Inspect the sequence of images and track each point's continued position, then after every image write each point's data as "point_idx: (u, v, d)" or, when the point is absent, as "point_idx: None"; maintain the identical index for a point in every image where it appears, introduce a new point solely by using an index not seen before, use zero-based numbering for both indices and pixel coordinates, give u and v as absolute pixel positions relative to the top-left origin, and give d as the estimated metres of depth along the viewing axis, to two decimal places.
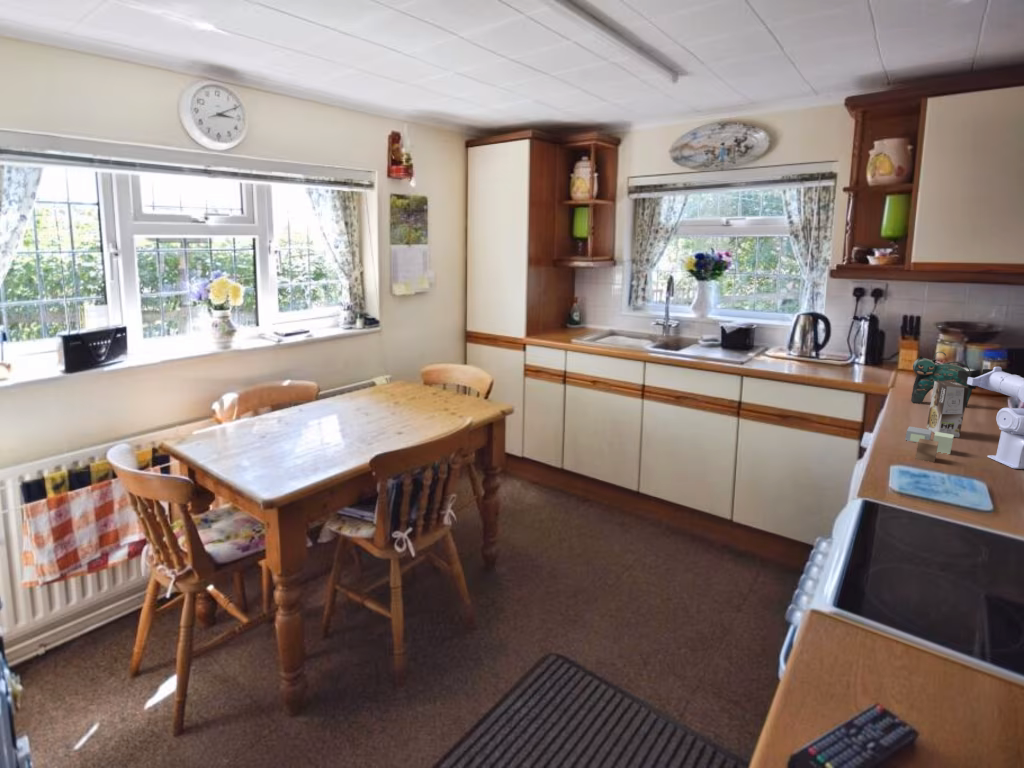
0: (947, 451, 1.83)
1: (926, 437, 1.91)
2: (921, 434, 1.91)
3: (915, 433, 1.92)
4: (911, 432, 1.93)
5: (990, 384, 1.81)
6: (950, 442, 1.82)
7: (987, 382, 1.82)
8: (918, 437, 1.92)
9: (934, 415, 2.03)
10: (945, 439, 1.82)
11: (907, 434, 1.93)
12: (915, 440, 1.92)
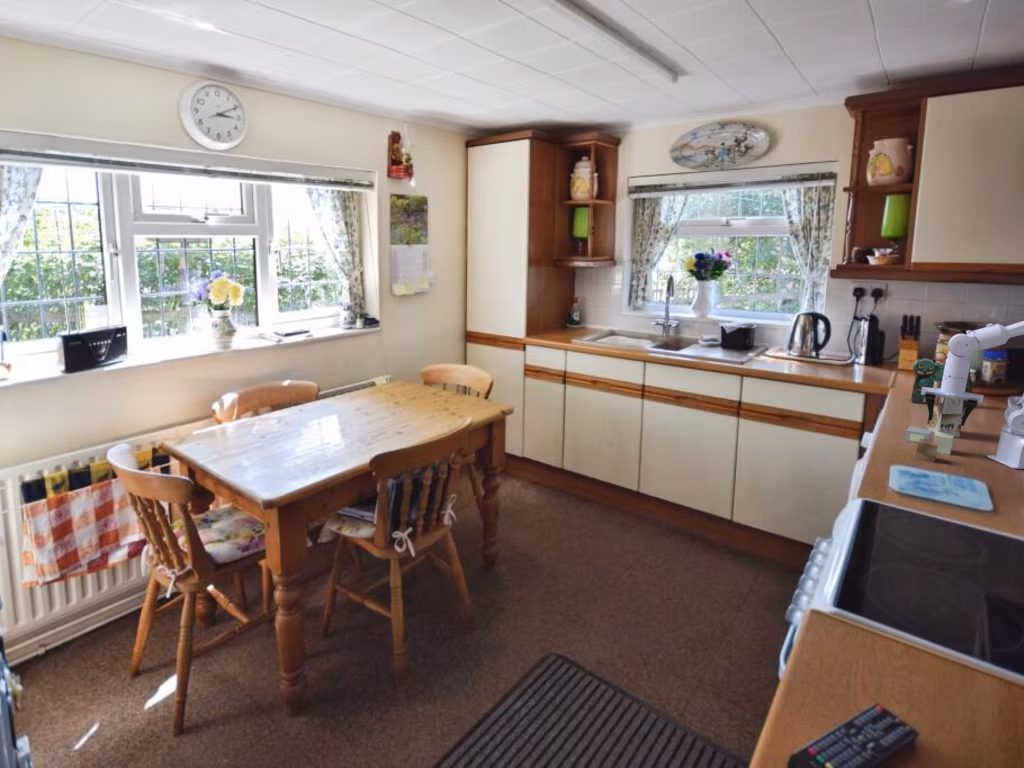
0: (947, 451, 1.83)
1: (925, 437, 1.91)
2: (920, 434, 1.91)
3: (915, 433, 1.92)
4: (911, 431, 1.93)
5: None
6: (950, 442, 1.82)
7: (964, 392, 1.80)
8: (917, 437, 1.92)
9: (933, 415, 2.03)
10: (945, 439, 1.82)
11: (907, 434, 1.94)
12: (915, 440, 1.93)
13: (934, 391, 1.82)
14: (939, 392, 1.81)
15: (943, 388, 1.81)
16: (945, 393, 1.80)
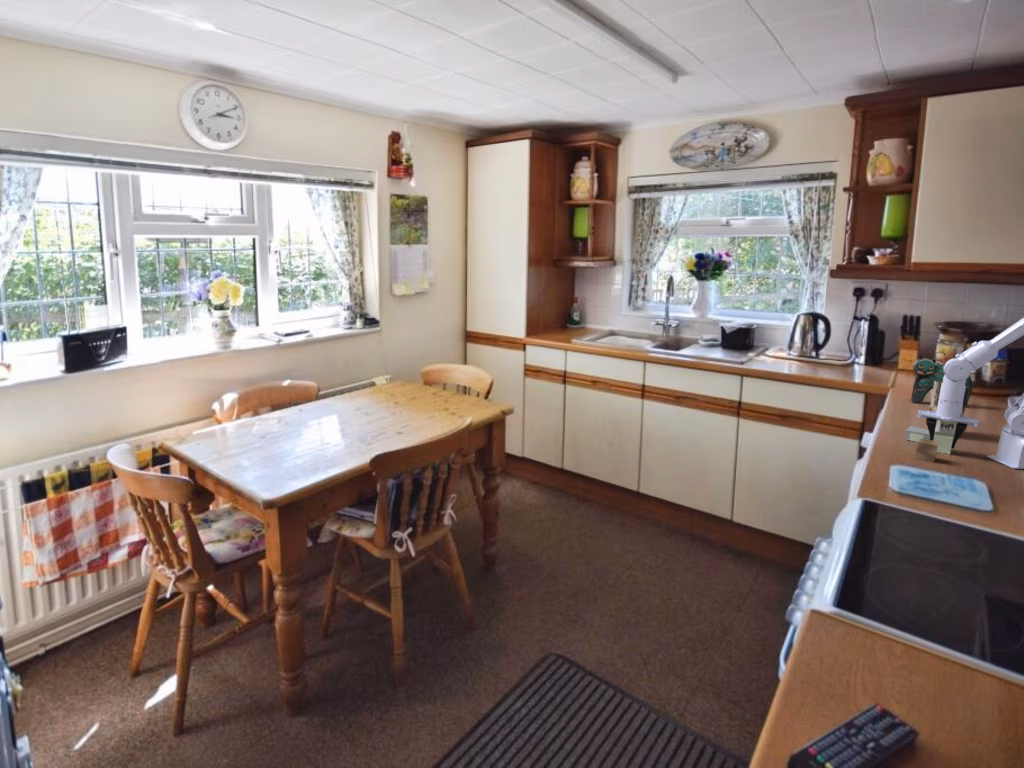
0: (947, 451, 1.83)
1: (925, 437, 1.91)
2: (920, 434, 1.92)
3: (914, 432, 1.93)
4: (910, 431, 1.93)
5: None
6: (950, 442, 1.82)
7: (960, 416, 1.81)
8: (917, 437, 1.92)
9: None
10: (946, 439, 1.82)
11: (906, 433, 1.94)
12: (914, 439, 1.93)
13: (930, 415, 1.84)
14: (935, 416, 1.83)
15: (938, 412, 1.83)
16: (941, 417, 1.82)
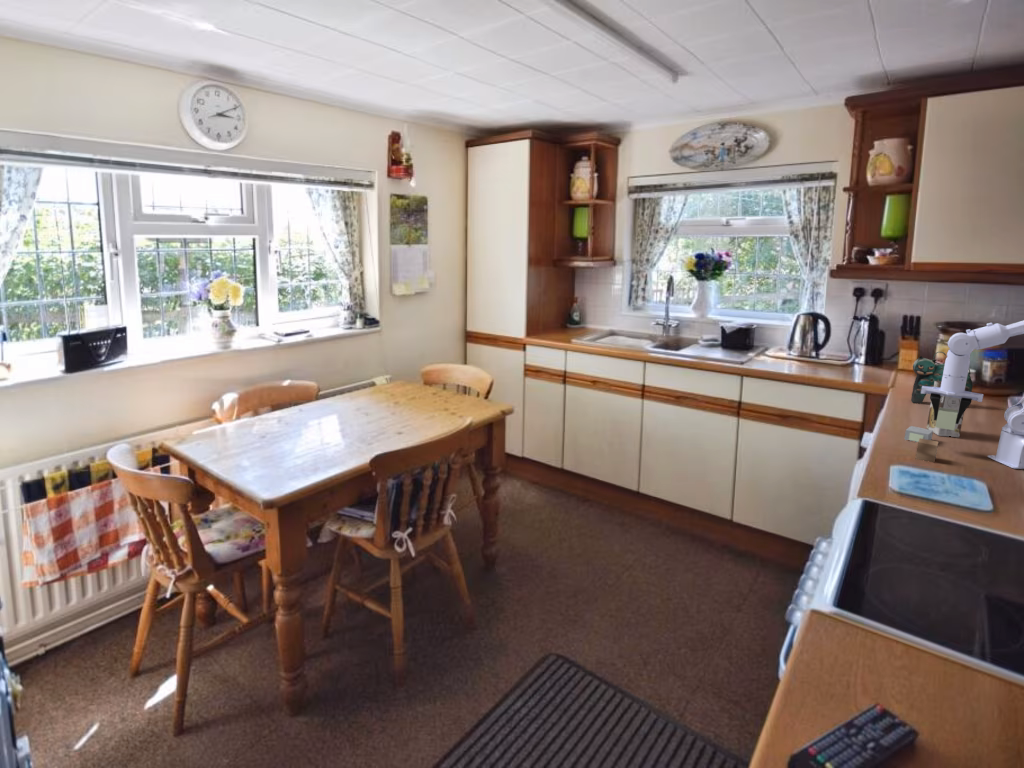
0: (951, 426, 1.81)
1: (925, 437, 1.91)
2: (920, 433, 1.92)
3: (914, 432, 1.93)
4: (910, 431, 1.93)
5: None
6: (954, 417, 1.80)
7: (964, 391, 1.80)
8: (917, 436, 1.92)
9: None
10: (950, 414, 1.81)
11: (906, 433, 1.94)
12: (914, 439, 1.93)
13: (934, 390, 1.83)
14: (939, 391, 1.81)
15: (942, 387, 1.81)
16: (945, 392, 1.80)
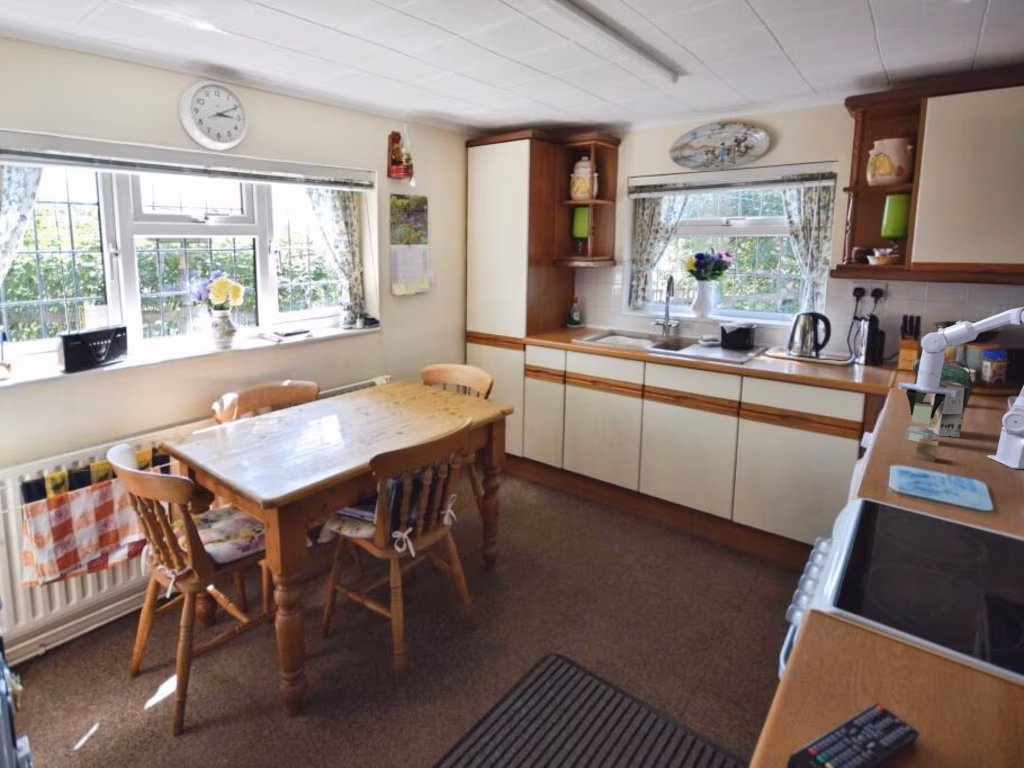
0: (926, 421, 1.90)
1: (924, 437, 1.91)
2: (919, 433, 1.92)
3: (914, 432, 1.93)
4: (910, 431, 1.94)
5: None
6: (929, 412, 1.90)
7: (938, 387, 1.89)
8: (916, 436, 1.92)
9: (934, 415, 2.03)
10: (925, 409, 1.90)
11: (906, 433, 1.94)
12: (913, 439, 1.93)
13: (910, 386, 1.92)
14: (915, 387, 1.91)
15: (918, 384, 1.90)
16: (920, 388, 1.90)
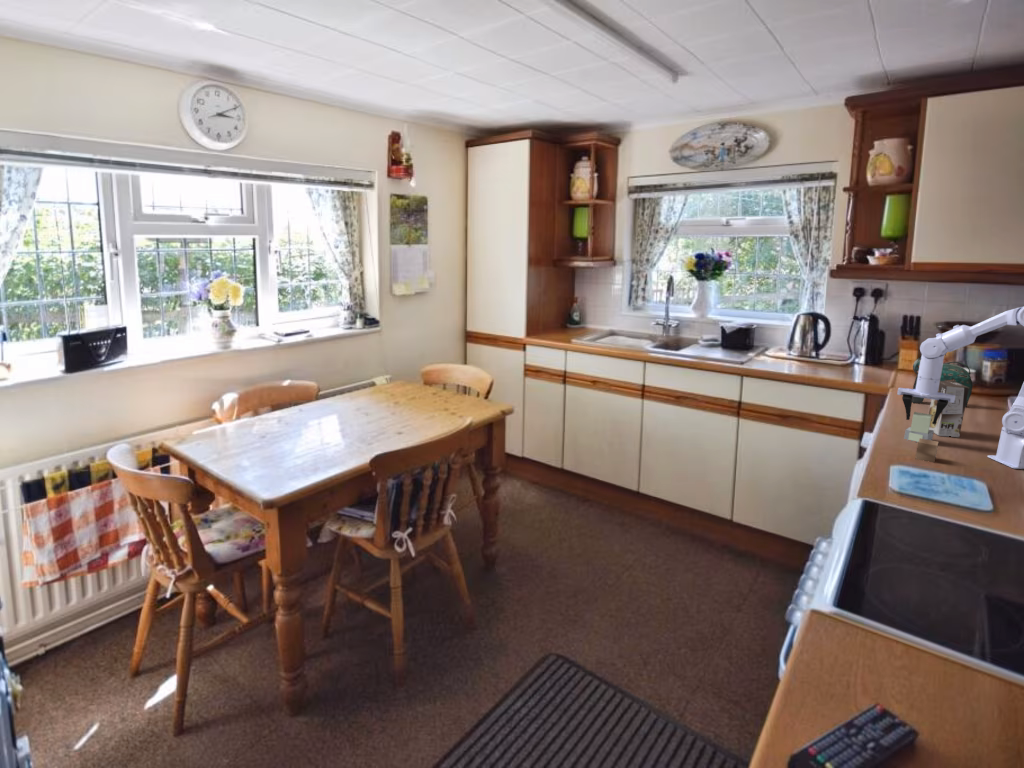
0: (925, 430, 1.91)
1: (924, 437, 1.91)
2: (919, 433, 1.92)
3: (913, 432, 1.93)
4: (910, 431, 1.94)
5: None
6: (928, 421, 1.90)
7: (937, 392, 1.90)
8: (916, 436, 1.93)
9: (934, 415, 2.03)
10: (924, 419, 1.91)
11: (906, 433, 1.95)
12: (913, 439, 1.93)
13: (909, 391, 1.92)
14: (914, 392, 1.91)
15: (917, 389, 1.91)
16: (919, 393, 1.90)
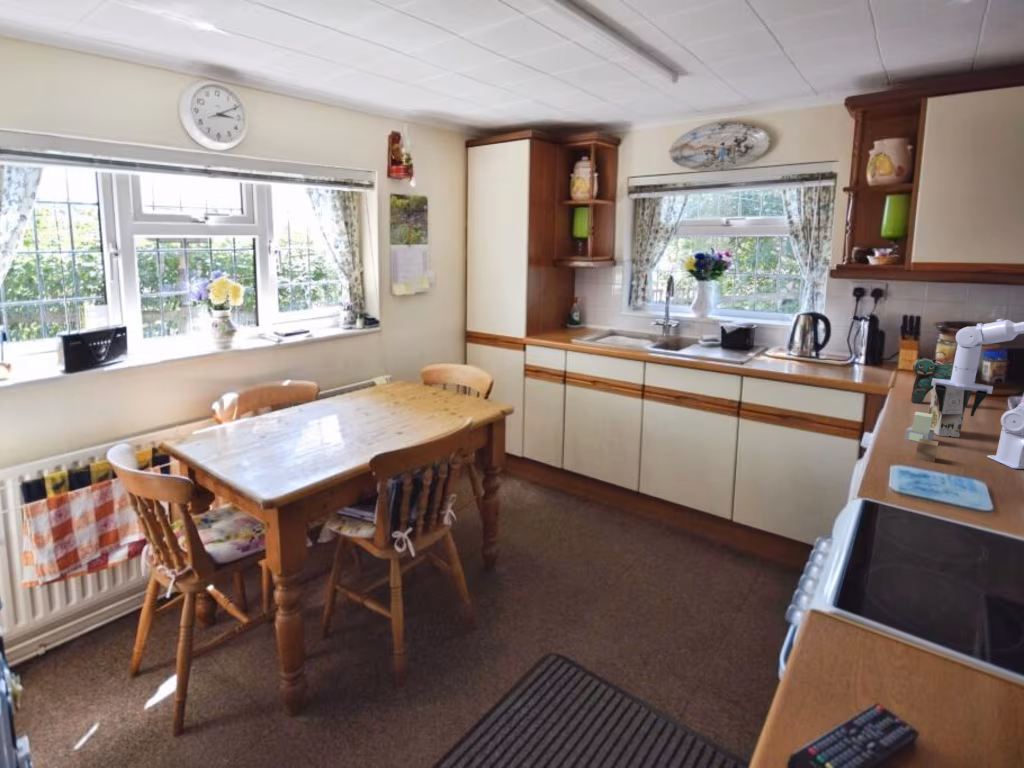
0: (926, 430, 1.91)
1: (924, 436, 1.91)
2: (919, 433, 1.92)
3: (914, 432, 1.93)
4: (910, 430, 1.94)
5: None
6: (929, 421, 1.91)
7: (974, 383, 1.83)
8: (916, 436, 1.93)
9: (934, 415, 2.03)
10: (925, 418, 1.91)
11: (906, 433, 1.95)
12: (914, 439, 1.93)
13: (944, 382, 1.86)
14: (949, 383, 1.85)
15: (953, 379, 1.85)
16: (955, 384, 1.84)
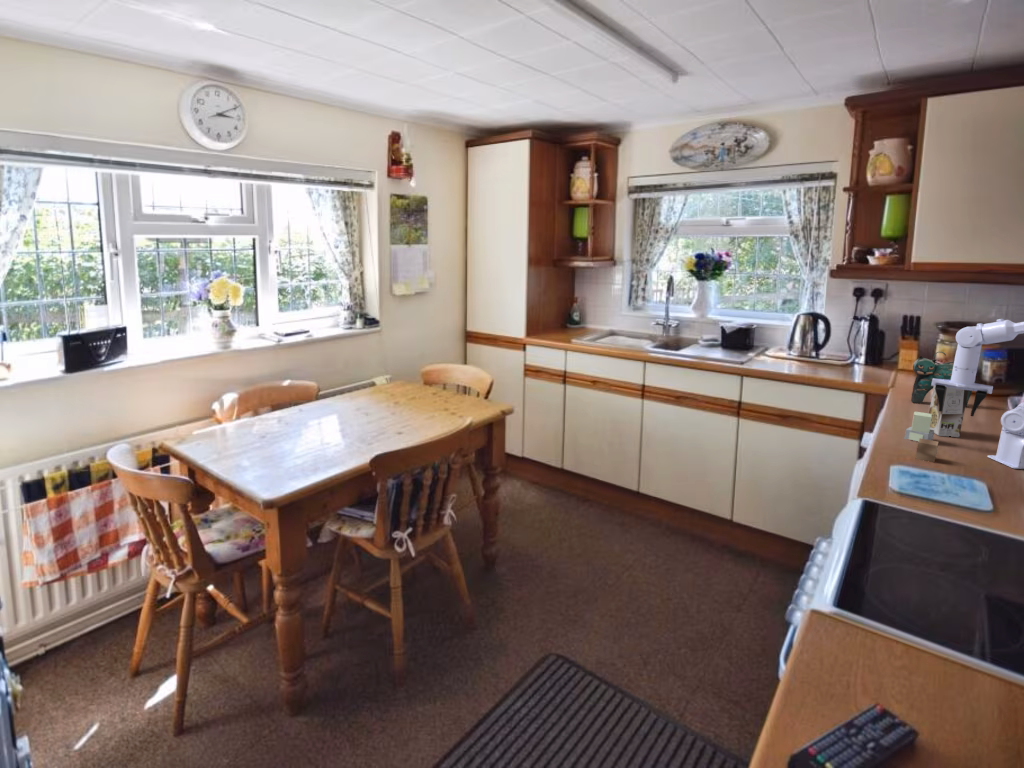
0: (926, 429, 1.92)
1: (924, 436, 1.92)
2: (919, 433, 1.92)
3: (914, 432, 1.93)
4: (910, 430, 1.94)
5: None
6: (929, 421, 1.91)
7: (974, 383, 1.83)
8: (916, 436, 1.93)
9: (934, 415, 2.03)
10: (925, 418, 1.91)
11: (906, 433, 1.95)
12: (913, 439, 1.94)
13: (944, 382, 1.86)
14: (949, 383, 1.85)
15: (953, 379, 1.85)
16: (955, 384, 1.84)
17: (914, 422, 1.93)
